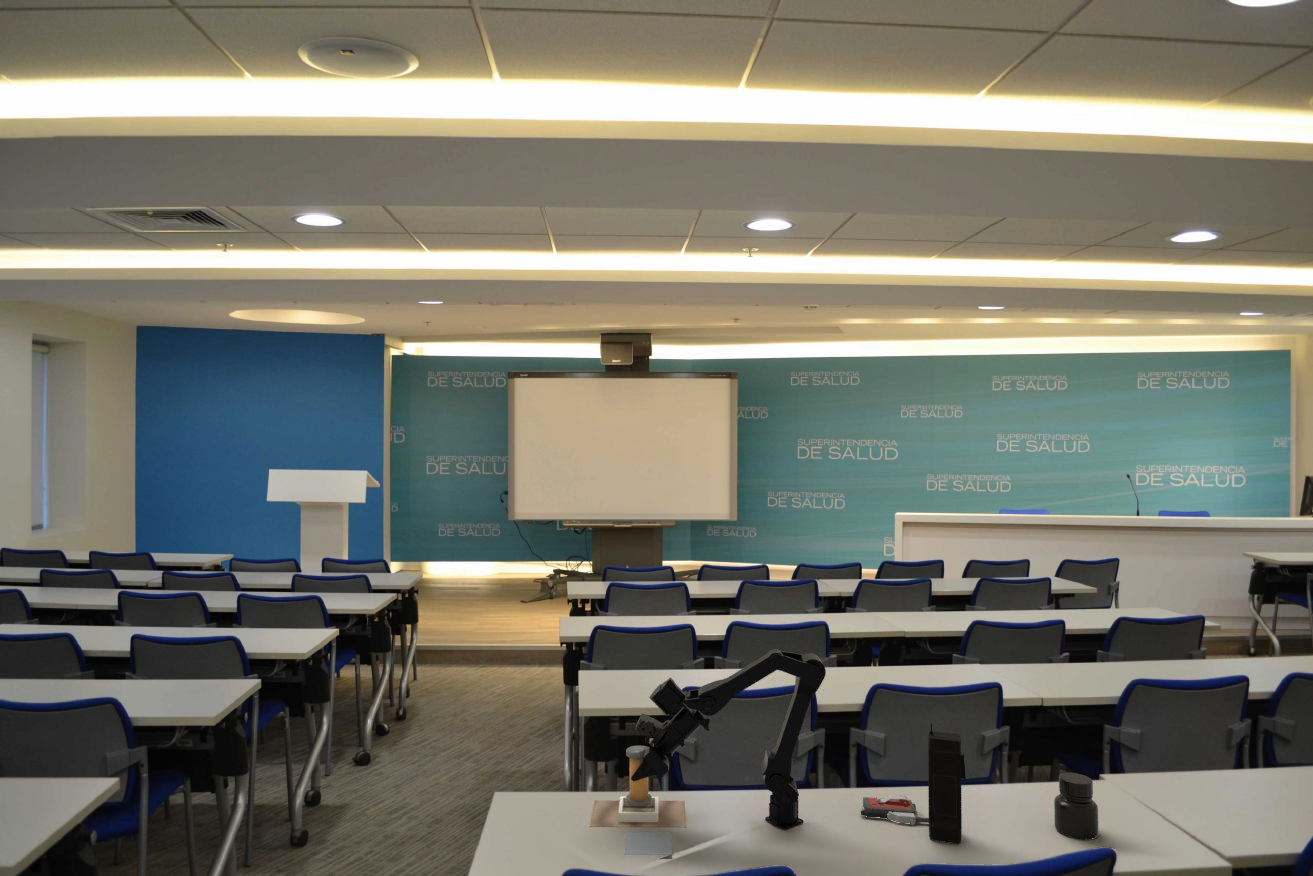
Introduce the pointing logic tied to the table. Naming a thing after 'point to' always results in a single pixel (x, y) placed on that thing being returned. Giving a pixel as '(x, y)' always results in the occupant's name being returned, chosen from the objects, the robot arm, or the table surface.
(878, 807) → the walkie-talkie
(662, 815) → the walnut board
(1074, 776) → the ink bottle
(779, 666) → the robot arm
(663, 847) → the grey mat
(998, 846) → the table surface
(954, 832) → the portable radio
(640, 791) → the orange cylinder grey ends
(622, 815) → the white square frame
